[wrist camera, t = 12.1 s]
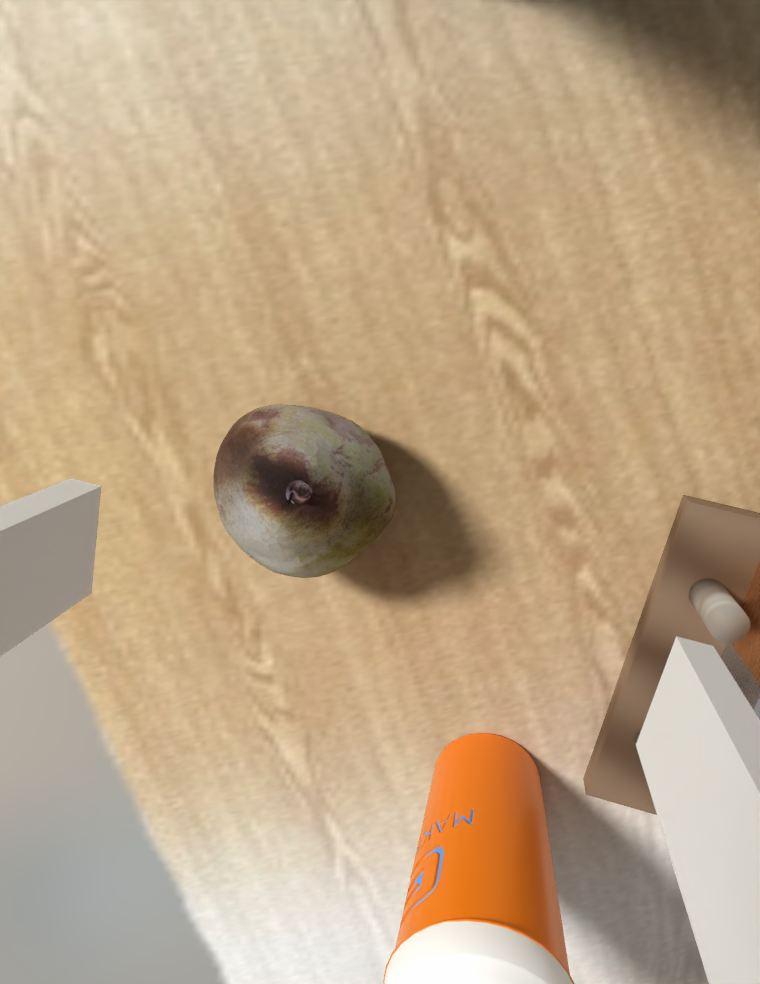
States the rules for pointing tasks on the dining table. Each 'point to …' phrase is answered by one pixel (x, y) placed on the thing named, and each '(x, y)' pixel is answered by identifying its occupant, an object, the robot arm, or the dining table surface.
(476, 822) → the shaker bottle
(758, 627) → the bar
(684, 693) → the robot arm
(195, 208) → the dining table surface
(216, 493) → the fruit
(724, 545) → the peg rack
